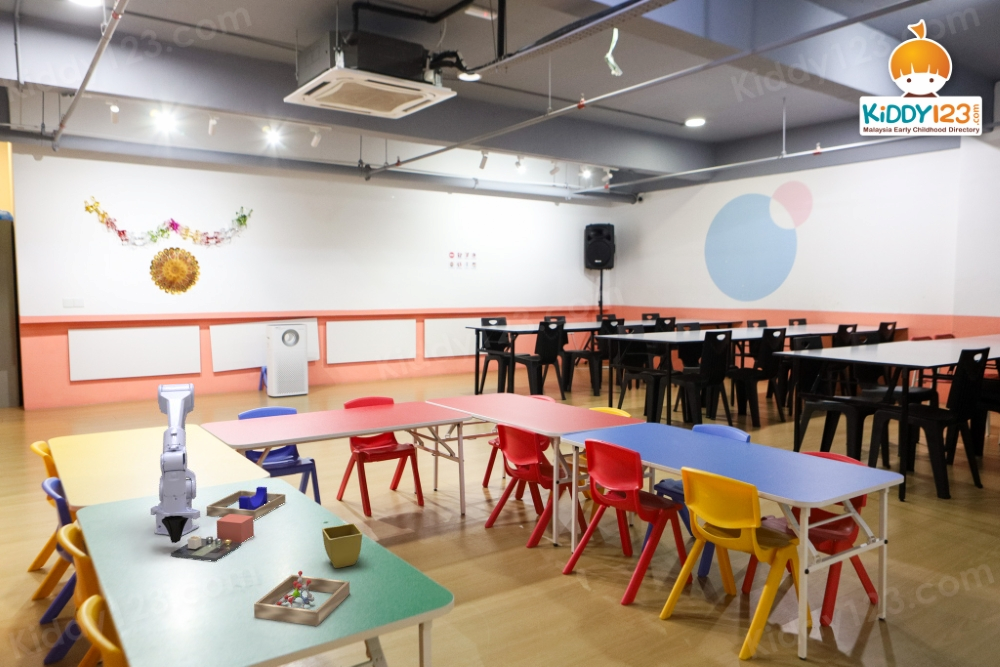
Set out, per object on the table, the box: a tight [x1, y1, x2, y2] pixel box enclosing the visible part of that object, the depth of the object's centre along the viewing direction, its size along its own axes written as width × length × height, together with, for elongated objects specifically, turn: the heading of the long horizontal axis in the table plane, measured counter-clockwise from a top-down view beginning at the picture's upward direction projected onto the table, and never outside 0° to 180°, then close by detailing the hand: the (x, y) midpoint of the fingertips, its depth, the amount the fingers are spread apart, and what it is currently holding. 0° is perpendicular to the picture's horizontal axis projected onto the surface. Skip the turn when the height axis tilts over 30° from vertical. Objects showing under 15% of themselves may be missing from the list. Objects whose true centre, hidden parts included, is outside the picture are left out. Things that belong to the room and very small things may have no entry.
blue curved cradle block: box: [238, 486, 268, 510], centre depth 216 cm, size 12×4×6 cm, turn 170°
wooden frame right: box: [253, 574, 351, 627], centre depth 151 cm, size 15×15×3 cm
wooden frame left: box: [206, 490, 286, 521], centre depth 216 cm, size 17×17×3 cm
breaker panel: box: [170, 536, 242, 562], centre depth 182 cm, size 14×11×2 cm
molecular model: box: [276, 570, 315, 609], centre depth 150 cm, size 7×8×7 cm
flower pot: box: [321, 523, 363, 569], centre depth 174 cm, size 9×9×9 cm
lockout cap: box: [216, 514, 255, 544], centre depth 191 cm, size 8×6×6 cm
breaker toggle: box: [187, 535, 202, 549], centre depth 181 cm, size 2×2×3 cm
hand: (176, 541), depth 183 cm, fingers closed
